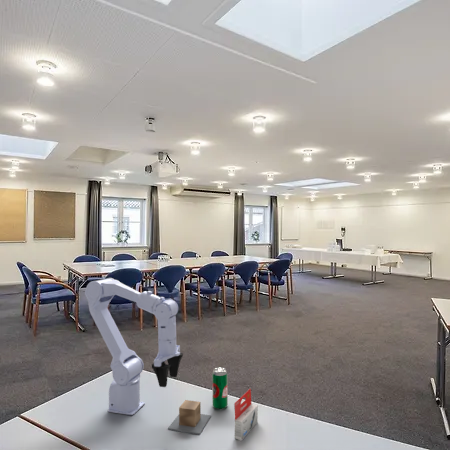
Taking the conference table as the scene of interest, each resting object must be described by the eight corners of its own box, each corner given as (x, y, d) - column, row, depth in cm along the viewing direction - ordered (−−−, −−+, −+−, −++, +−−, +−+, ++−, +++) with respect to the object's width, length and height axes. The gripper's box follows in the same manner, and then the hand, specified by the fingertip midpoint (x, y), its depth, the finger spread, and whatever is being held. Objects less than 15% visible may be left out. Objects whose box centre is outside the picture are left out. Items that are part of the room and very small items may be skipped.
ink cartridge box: (258, 422, 102) (257, 389, 103) (241, 441, 93) (241, 405, 93) (250, 420, 104) (250, 387, 104) (233, 439, 94) (233, 403, 94)
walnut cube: (179, 424, 100) (179, 407, 101) (185, 416, 105) (185, 399, 105) (194, 427, 99) (194, 409, 99) (200, 418, 104) (200, 401, 104)
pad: (167, 429, 99) (167, 428, 99) (181, 412, 108) (181, 411, 108) (199, 434, 96) (199, 433, 96) (210, 416, 106) (210, 415, 106)
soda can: (226, 410, 109) (225, 373, 109) (210, 409, 110) (210, 372, 110) (228, 403, 114) (228, 367, 114) (214, 401, 115) (214, 366, 115)
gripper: (168, 346, 100) (169, 392, 99) (187, 332, 114) (188, 373, 113) (147, 344, 102) (148, 390, 101) (168, 331, 116) (169, 371, 115)
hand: (168, 381), depth 107 cm, fingers open, 7 cm apart
